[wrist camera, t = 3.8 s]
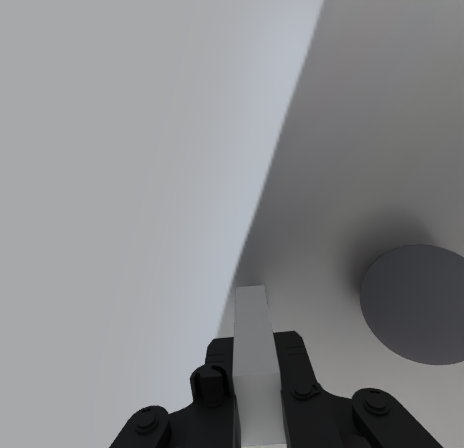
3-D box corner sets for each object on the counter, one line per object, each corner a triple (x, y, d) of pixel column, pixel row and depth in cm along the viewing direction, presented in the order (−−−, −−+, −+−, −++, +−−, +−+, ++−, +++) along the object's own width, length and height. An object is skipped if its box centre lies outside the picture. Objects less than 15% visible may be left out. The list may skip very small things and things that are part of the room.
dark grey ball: (448, 309, 18) (540, 378, 12) (354, 331, 18) (403, 407, 13) (436, 221, 16) (532, 253, 11) (336, 246, 17) (381, 290, 11)
